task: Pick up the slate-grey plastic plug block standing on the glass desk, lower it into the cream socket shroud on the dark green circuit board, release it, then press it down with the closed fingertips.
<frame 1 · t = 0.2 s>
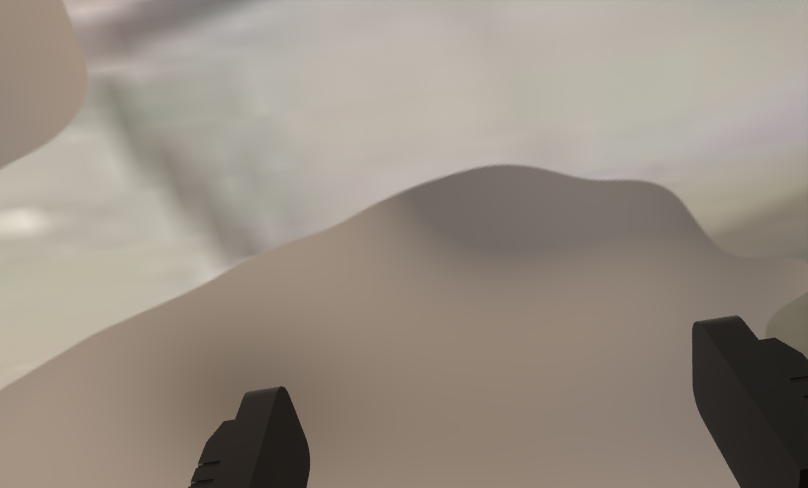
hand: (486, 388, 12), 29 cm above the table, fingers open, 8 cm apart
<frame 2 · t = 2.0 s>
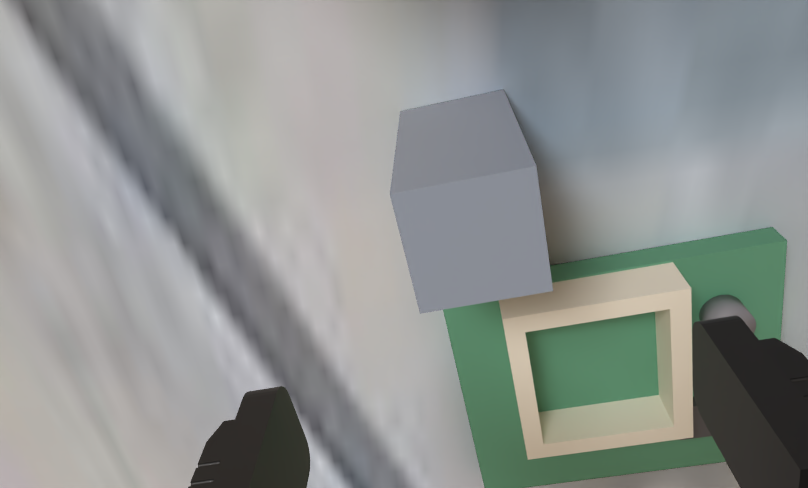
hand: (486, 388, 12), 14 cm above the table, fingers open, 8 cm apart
board: (610, 365, 30), on the table
plug: (460, 149, 25), on the table
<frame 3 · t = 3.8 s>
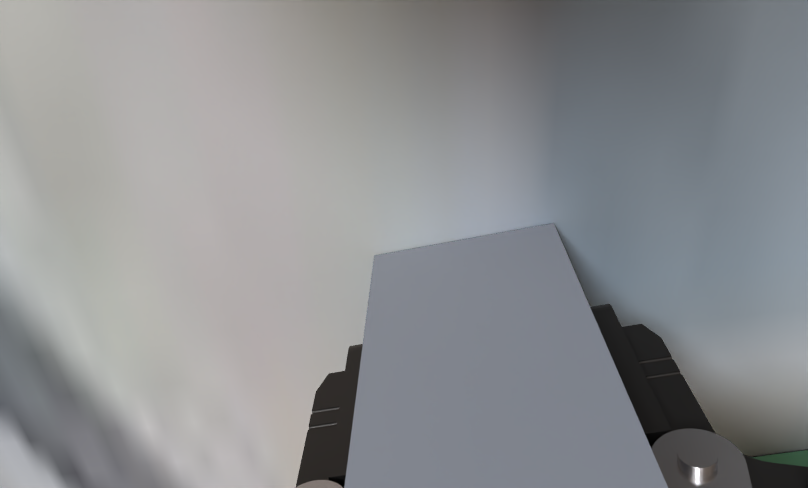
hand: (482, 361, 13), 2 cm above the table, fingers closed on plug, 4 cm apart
plug: (477, 313, 15), on the table, touching gripper
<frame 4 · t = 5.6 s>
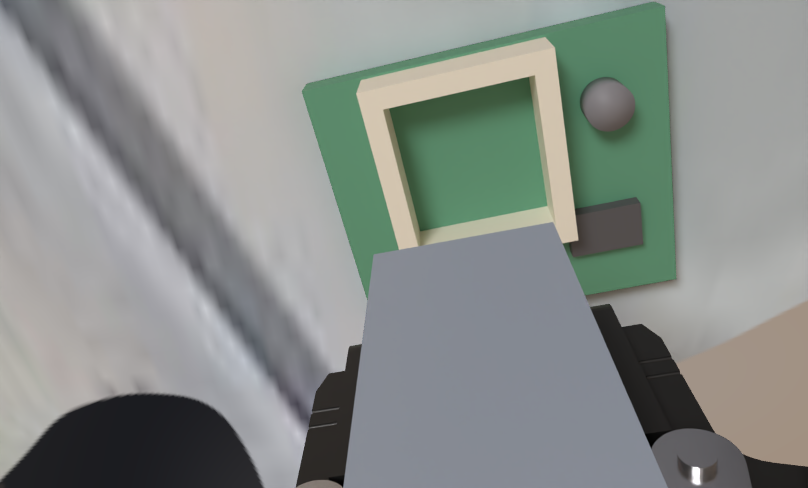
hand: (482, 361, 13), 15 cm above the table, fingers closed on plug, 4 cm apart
board: (498, 180, 28), on the table
plug: (476, 312, 15), point 14 cm above the table, touching gripper
when the fingers open (4 cm above the table, at t = 7.6 s): plug drops 1 cm, resting on board.
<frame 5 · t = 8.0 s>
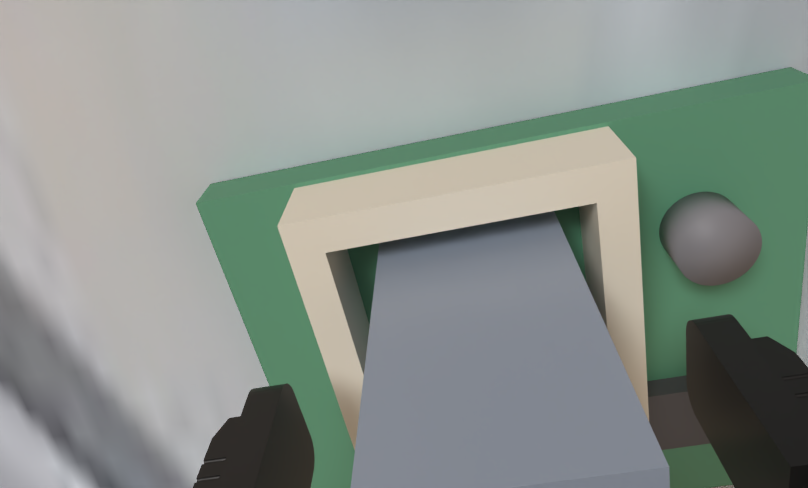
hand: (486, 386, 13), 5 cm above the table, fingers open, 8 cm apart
board: (517, 329, 18), on the table
plug: (476, 284, 16), point 1 cm above the table, touching board
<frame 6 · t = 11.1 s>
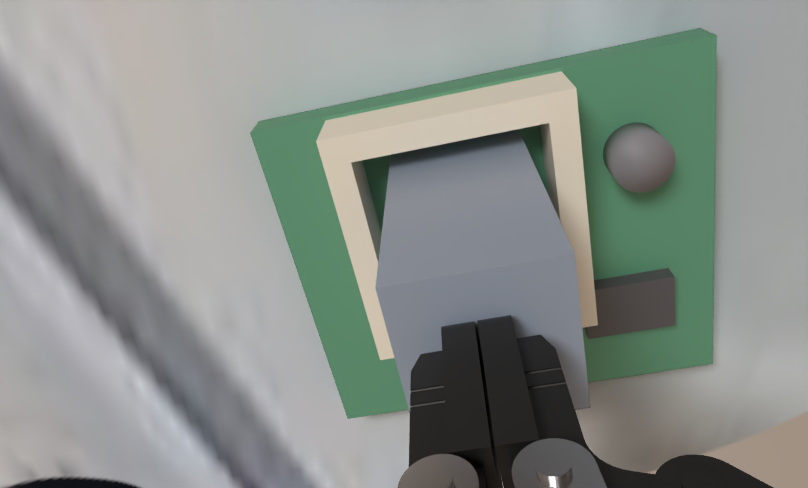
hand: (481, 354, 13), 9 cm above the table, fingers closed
board: (497, 242, 23), on the table
plug: (464, 198, 21), point 1 cm above the table, touching board, gripper
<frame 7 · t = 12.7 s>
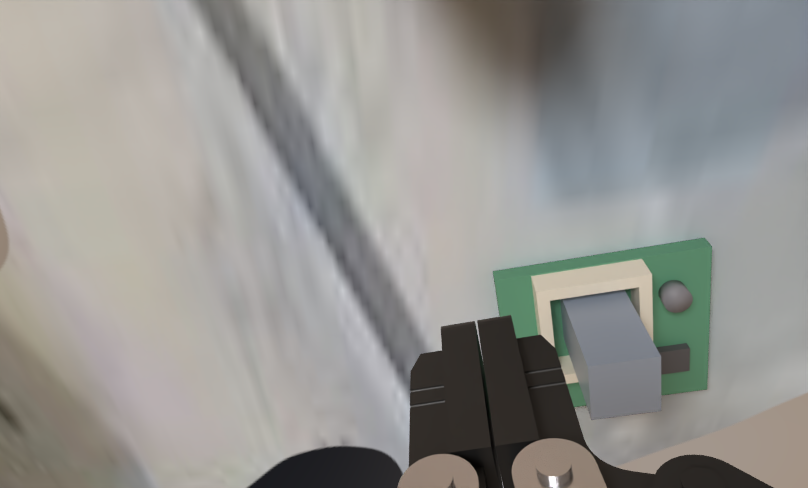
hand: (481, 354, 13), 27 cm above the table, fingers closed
board: (601, 327, 45), on the table
plug: (591, 310, 43), point 1 cm above the table, touching board
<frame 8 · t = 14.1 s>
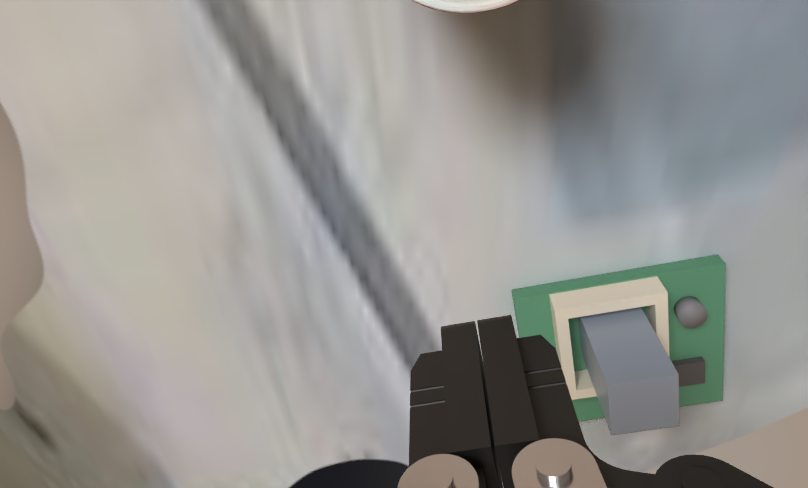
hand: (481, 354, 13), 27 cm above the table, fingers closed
board: (617, 341, 46), on the table
plug: (607, 326, 44), point 1 cm above the table, touching board
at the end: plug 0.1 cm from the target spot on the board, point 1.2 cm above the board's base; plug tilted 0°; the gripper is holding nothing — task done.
